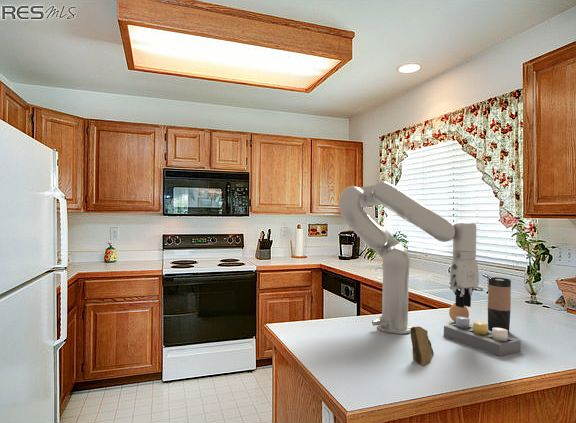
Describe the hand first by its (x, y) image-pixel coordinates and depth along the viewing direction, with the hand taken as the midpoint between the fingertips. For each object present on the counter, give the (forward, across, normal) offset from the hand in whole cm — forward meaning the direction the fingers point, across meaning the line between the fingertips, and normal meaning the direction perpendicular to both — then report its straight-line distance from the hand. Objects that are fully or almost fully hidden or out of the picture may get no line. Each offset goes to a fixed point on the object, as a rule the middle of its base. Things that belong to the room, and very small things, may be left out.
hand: (463, 305), depth 133 cm
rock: (+11, -29, -10) cm, 33 cm away
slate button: (+8, 0, 0) cm, 8 cm away
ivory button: (+8, 0, -14) cm, 16 cm away
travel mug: (+11, +20, 0) cm, 23 cm away
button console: (+11, 0, -7) cm, 13 cm away
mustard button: (+8, 0, -7) cm, 10 cm away
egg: (+11, +14, +12) cm, 22 cm away
